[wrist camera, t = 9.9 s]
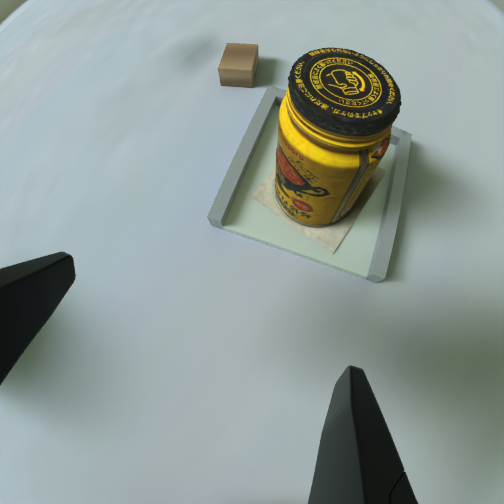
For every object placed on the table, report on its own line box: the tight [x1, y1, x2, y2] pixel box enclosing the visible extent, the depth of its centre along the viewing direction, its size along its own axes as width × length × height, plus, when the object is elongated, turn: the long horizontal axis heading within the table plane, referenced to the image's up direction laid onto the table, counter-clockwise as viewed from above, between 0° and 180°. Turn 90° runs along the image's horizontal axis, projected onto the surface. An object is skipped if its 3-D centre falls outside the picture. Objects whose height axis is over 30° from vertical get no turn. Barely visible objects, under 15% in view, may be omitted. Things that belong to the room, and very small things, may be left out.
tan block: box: [218, 43, 259, 88], centre depth 26 cm, size 4×3×2 cm
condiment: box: [250, 48, 401, 254], centre depth 18 cm, size 7×8×12 cm
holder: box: [207, 86, 412, 283], centre depth 23 cm, size 13×13×2 cm
